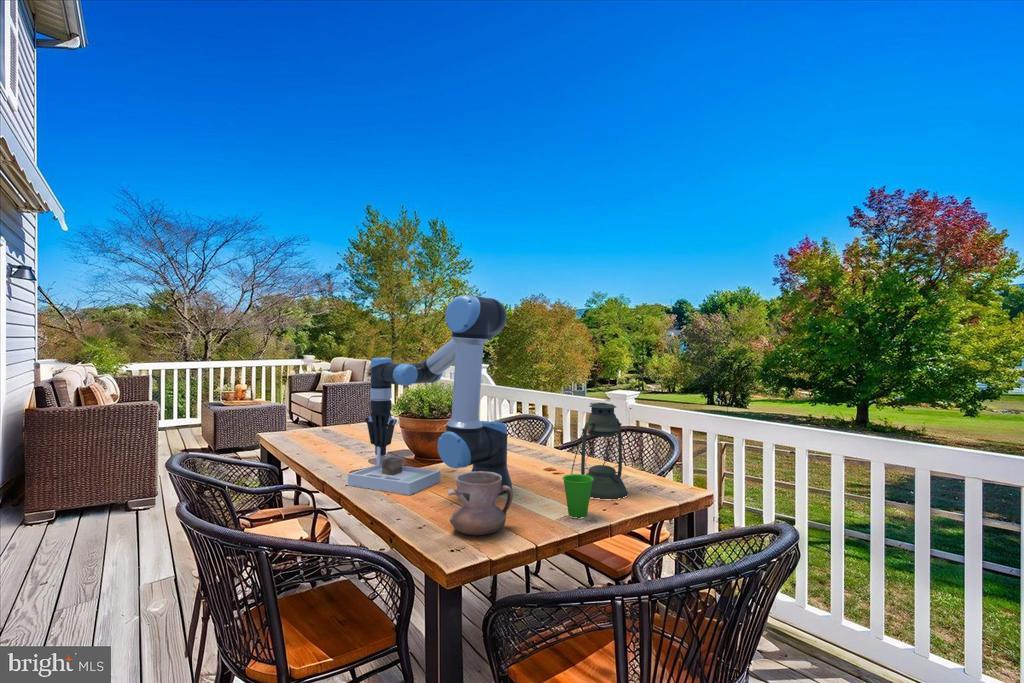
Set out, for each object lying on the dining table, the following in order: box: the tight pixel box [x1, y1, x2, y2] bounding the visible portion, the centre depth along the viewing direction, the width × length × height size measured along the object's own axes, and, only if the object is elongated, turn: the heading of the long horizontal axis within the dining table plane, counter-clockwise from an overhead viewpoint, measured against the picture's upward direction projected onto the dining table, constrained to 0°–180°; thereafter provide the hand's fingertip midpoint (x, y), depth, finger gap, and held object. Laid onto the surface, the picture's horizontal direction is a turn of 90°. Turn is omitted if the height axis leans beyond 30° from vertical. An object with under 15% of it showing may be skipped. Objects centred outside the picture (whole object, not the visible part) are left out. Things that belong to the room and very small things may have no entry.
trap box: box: [347, 464, 441, 496], centre depth 176 cm, size 26×18×4 cm
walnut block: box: [382, 456, 403, 475], centre depth 181 cm, size 5×5×5 cm
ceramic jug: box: [446, 471, 514, 536], centre depth 133 cm, size 18×14×14 cm
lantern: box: [570, 402, 629, 499], centre depth 168 cm, size 21×18×30 cm
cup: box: [562, 473, 594, 518], centre depth 145 cm, size 9×9×11 cm
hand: (380, 464), depth 183 cm, fingers closed
